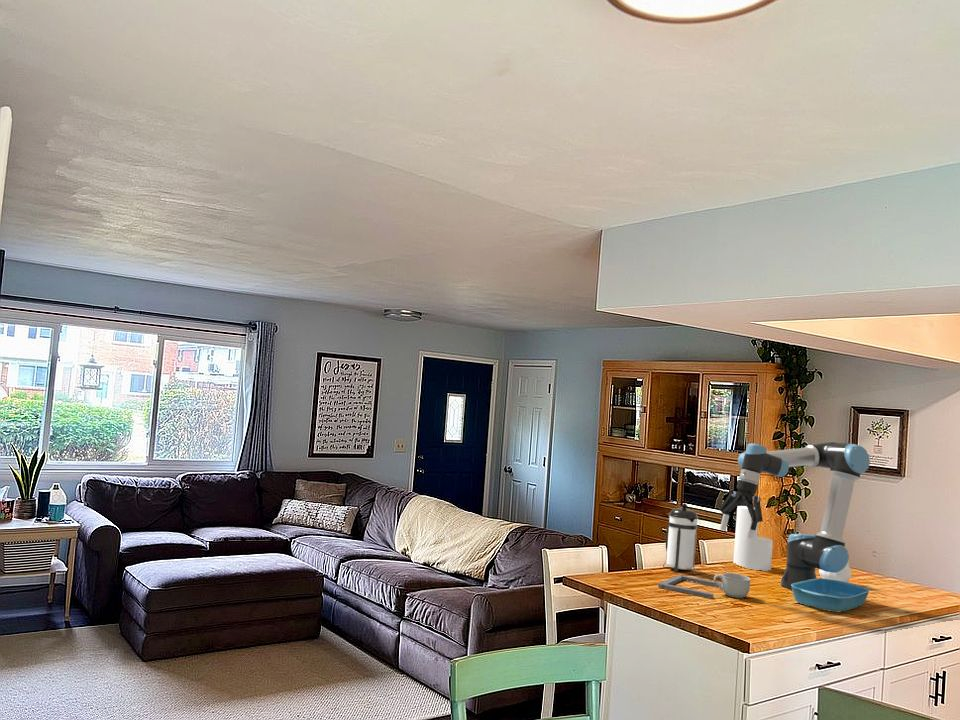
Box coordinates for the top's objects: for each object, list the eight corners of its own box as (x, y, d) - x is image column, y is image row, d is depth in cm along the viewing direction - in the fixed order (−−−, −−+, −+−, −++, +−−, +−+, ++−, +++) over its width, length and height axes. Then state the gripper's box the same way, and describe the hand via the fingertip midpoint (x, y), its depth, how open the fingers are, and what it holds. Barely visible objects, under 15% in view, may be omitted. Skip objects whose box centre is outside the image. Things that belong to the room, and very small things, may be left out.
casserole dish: (839, 617, 290) (840, 598, 290) (781, 602, 306) (782, 584, 306) (876, 606, 315) (877, 588, 315) (820, 593, 331) (821, 576, 331)
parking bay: (729, 588, 323) (729, 584, 323) (711, 598, 300) (711, 594, 300) (678, 578, 334) (679, 574, 334) (658, 587, 312) (658, 583, 312)
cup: (818, 582, 352) (820, 551, 353) (818, 577, 365) (820, 547, 366) (851, 588, 347) (853, 556, 348) (849, 582, 360) (851, 552, 360)
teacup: (749, 595, 312) (750, 575, 313) (749, 601, 302) (750, 580, 302) (713, 590, 317) (714, 570, 317) (711, 595, 307) (713, 574, 307)
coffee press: (701, 570, 356) (706, 504, 357) (690, 575, 342) (695, 506, 344) (664, 563, 365) (669, 499, 367) (652, 568, 351) (657, 501, 353)
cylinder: (736, 568, 370) (740, 508, 372) (730, 561, 387) (734, 504, 389) (774, 572, 368) (778, 512, 369) (767, 565, 385) (770, 508, 386)
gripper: (718, 474, 322) (705, 525, 319) (767, 485, 300) (754, 539, 297) (730, 479, 325) (718, 529, 322) (780, 489, 303) (767, 543, 301)
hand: (735, 534), depth 310 cm, fingers open, 13 cm apart
